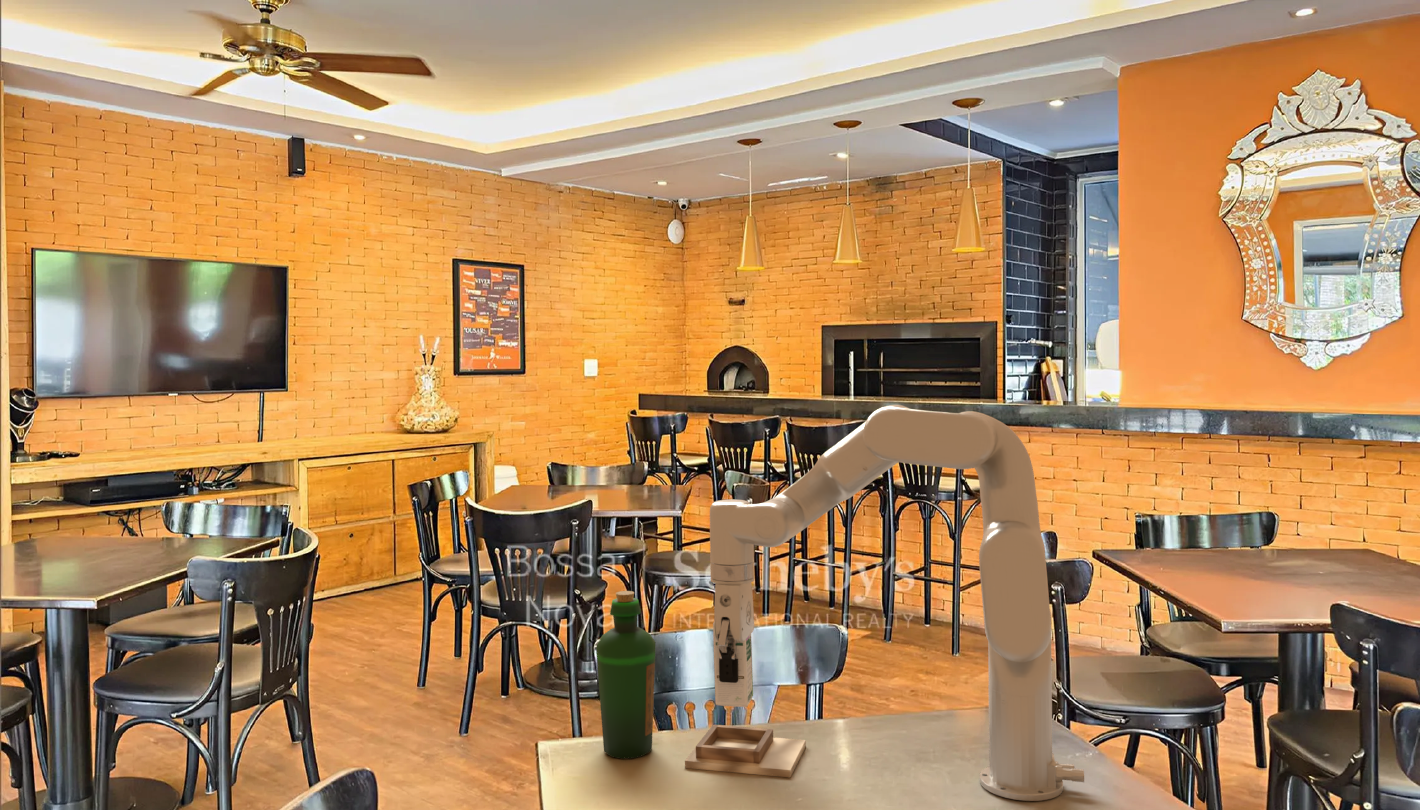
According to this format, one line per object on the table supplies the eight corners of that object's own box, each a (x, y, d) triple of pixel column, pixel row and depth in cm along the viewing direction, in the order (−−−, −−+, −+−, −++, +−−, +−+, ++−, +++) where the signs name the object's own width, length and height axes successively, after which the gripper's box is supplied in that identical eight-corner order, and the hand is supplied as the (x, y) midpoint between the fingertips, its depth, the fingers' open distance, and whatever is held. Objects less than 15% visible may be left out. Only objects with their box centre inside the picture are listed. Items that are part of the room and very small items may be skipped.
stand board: (805, 746, 175) (805, 728, 175) (790, 777, 162) (790, 758, 162) (707, 738, 180) (707, 721, 180) (684, 767, 167) (684, 749, 167)
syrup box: (748, 707, 168) (746, 622, 168) (713, 705, 169) (712, 621, 169) (753, 697, 173) (752, 614, 173) (720, 695, 175) (718, 613, 174)
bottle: (671, 750, 175) (668, 591, 174) (626, 767, 167) (622, 602, 167) (630, 736, 182) (627, 584, 182) (585, 752, 174) (581, 594, 174)
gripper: (741, 583, 161) (742, 693, 162) (764, 563, 178) (765, 663, 178) (697, 581, 163) (698, 689, 164) (724, 562, 180) (725, 661, 181)
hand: (733, 675), depth 171 cm, fingers closed on syrup box, 5 cm apart
